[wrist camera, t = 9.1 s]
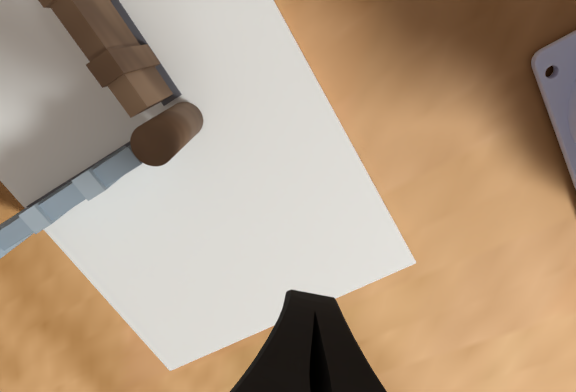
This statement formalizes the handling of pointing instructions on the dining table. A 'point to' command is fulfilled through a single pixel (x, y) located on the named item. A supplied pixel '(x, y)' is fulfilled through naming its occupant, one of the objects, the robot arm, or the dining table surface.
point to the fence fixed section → (129, 77)
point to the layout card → (195, 172)
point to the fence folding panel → (66, 198)
